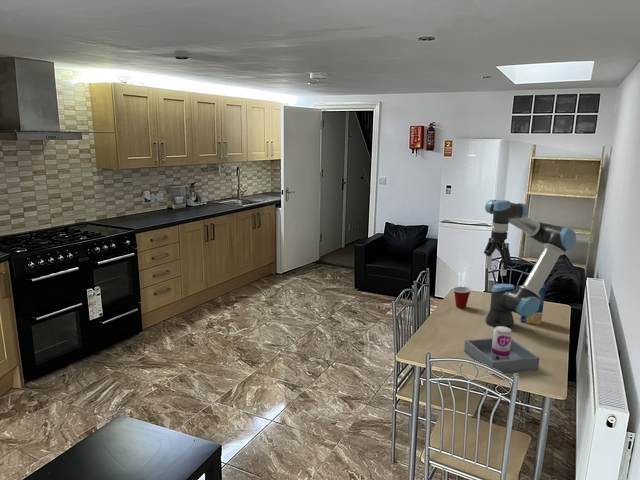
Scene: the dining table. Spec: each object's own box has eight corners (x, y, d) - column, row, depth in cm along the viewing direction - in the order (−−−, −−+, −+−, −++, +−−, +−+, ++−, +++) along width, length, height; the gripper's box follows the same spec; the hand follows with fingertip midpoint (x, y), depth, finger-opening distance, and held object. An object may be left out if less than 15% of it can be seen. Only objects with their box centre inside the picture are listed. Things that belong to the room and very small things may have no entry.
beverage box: (519, 318, 286) (523, 282, 281) (539, 320, 283) (544, 284, 278) (520, 322, 279) (524, 285, 275) (541, 324, 276) (545, 287, 272)
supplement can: (510, 363, 226) (513, 333, 223) (491, 361, 227) (495, 331, 224) (507, 355, 234) (510, 326, 230) (489, 353, 235) (492, 324, 232)
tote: (507, 347, 245) (508, 336, 243) (538, 369, 222) (539, 357, 221) (464, 351, 239) (465, 340, 238) (491, 374, 217) (492, 362, 215)
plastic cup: (448, 304, 307) (450, 286, 304) (465, 303, 308) (466, 285, 306) (455, 310, 296) (457, 291, 294) (472, 309, 298) (474, 291, 295)
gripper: (479, 226, 254) (476, 265, 259) (507, 236, 230) (503, 279, 235) (492, 226, 256) (488, 265, 260) (521, 236, 232) (516, 278, 237)
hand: (495, 271), depth 248 cm, fingers open, 13 cm apart
